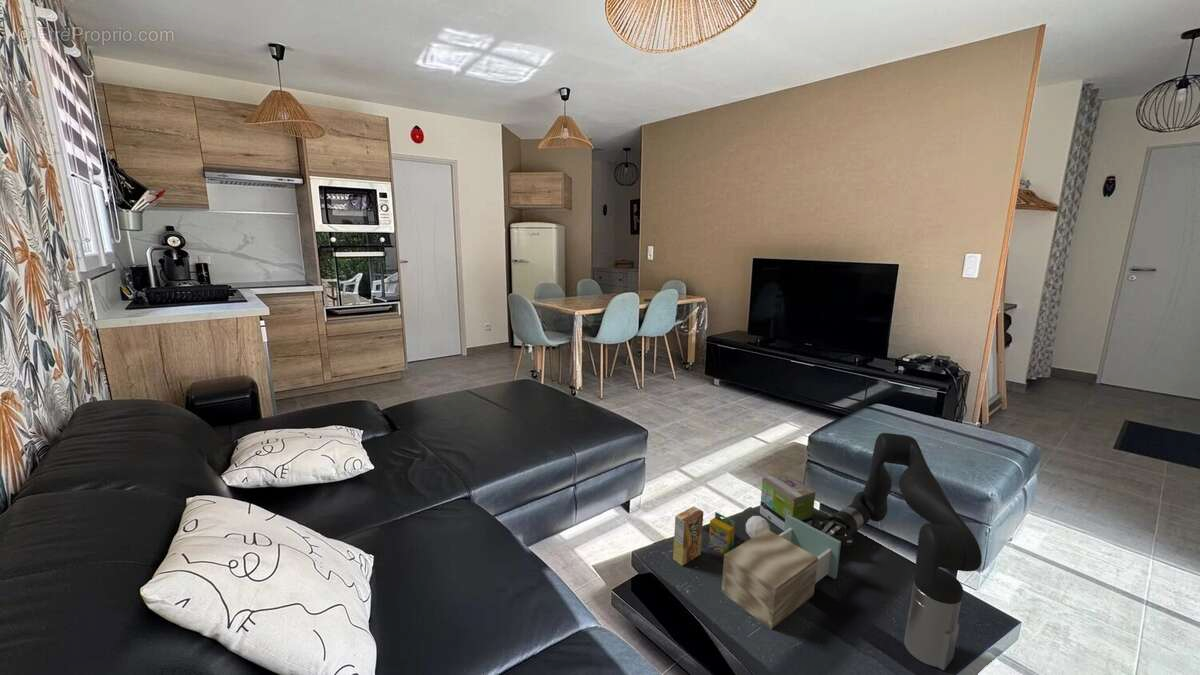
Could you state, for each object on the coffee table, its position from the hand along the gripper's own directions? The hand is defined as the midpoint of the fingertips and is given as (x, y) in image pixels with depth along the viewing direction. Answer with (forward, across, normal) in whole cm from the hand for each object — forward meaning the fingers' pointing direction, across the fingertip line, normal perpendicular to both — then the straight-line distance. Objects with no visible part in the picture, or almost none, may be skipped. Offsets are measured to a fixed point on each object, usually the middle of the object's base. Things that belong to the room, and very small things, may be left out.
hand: (818, 541), depth 146 cm
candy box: (+32, -24, +6) cm, 41 cm away
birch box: (+25, 0, +6) cm, 26 cm away
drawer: (+14, 0, +5) cm, 15 cm away
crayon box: (+22, -20, +6) cm, 30 cm away
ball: (+6, -17, +6) cm, 19 cm away
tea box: (-10, -17, +6) cm, 21 cm away
